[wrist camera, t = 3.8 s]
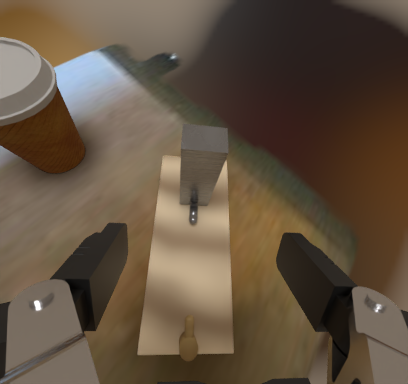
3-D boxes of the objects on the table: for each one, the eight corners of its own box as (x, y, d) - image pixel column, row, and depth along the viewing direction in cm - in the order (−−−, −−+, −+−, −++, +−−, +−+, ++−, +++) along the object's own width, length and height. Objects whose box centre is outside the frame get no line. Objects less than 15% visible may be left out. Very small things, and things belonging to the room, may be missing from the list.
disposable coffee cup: (75, 117, 30) (17, 23, 19) (111, 158, 28) (68, 78, 17) (6, 149, 26) (-113, 55, 15) (42, 198, 24) (-69, 130, 13)
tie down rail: (163, 161, 28) (161, 143, 25) (224, 166, 29) (231, 150, 26) (139, 349, 19) (131, 365, 15) (230, 348, 20) (241, 363, 16)
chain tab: (182, 158, 27) (186, 85, 17) (208, 160, 27) (225, 90, 17) (177, 224, 23) (178, 180, 13) (207, 226, 23) (229, 184, 13)
